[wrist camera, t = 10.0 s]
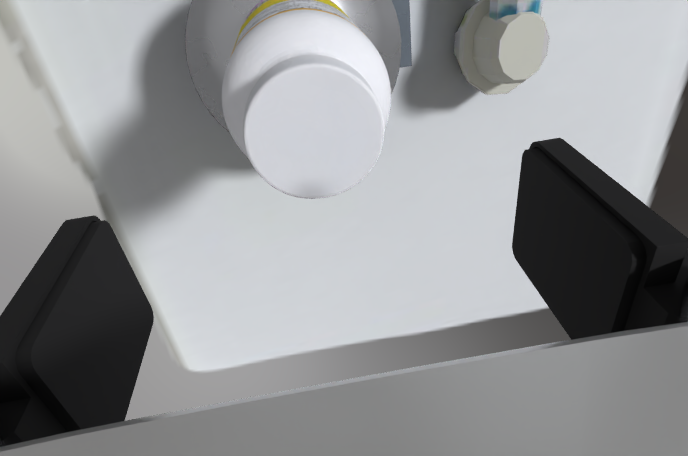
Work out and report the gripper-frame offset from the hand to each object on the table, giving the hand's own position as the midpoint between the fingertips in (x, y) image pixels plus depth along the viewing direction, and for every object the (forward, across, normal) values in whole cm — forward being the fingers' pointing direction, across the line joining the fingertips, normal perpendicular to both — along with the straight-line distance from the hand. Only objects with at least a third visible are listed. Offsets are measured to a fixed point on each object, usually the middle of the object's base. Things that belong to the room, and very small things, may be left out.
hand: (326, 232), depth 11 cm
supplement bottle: (+18, 0, 0) cm, 19 cm away
